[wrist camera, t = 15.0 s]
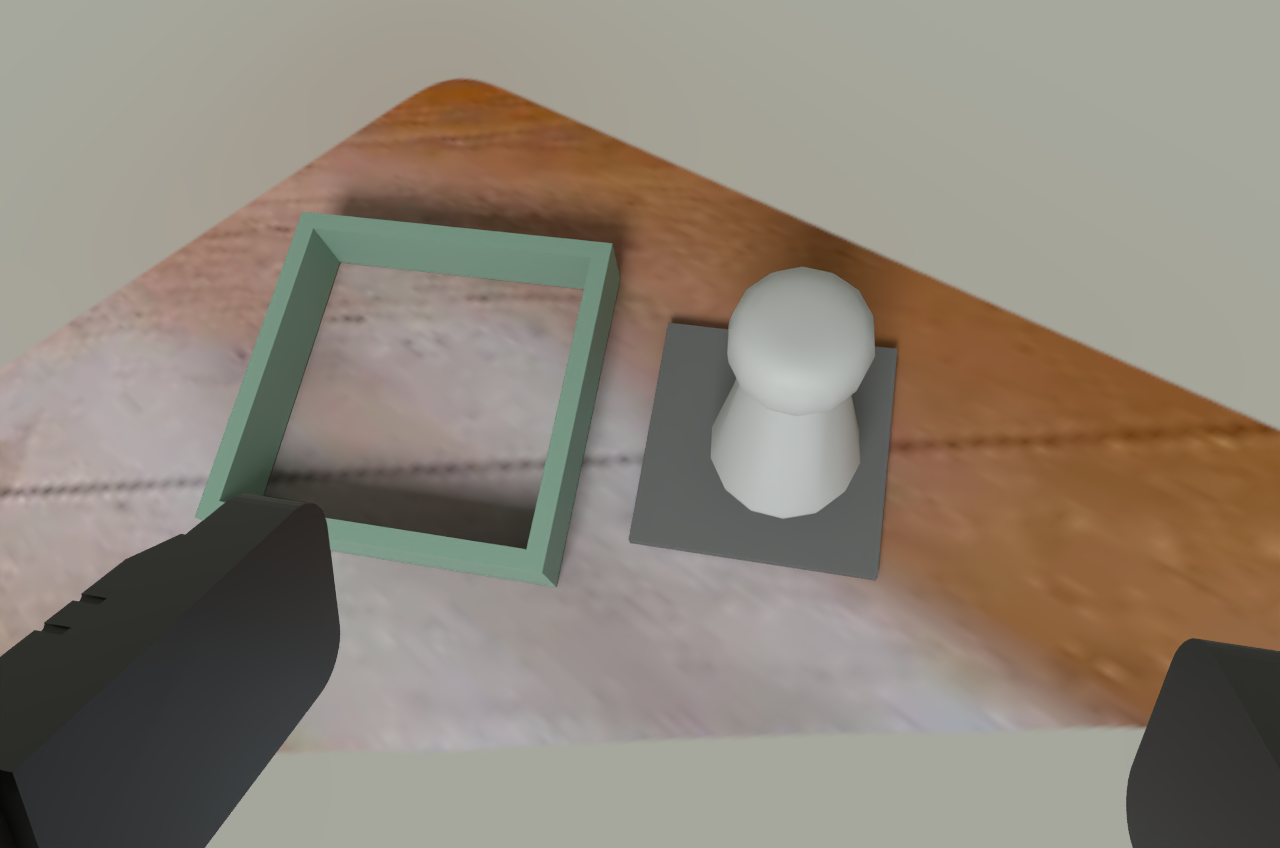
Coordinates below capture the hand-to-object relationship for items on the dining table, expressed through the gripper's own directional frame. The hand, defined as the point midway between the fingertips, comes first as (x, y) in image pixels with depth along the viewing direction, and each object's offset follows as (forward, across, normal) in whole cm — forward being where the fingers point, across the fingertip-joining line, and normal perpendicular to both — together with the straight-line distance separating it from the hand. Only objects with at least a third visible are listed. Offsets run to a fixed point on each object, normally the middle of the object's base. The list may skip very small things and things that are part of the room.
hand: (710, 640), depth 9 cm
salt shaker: (+27, 0, +12) cm, 29 cm away
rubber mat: (+28, 0, +12) cm, 30 cm away
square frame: (+28, +15, +11) cm, 34 cm away
